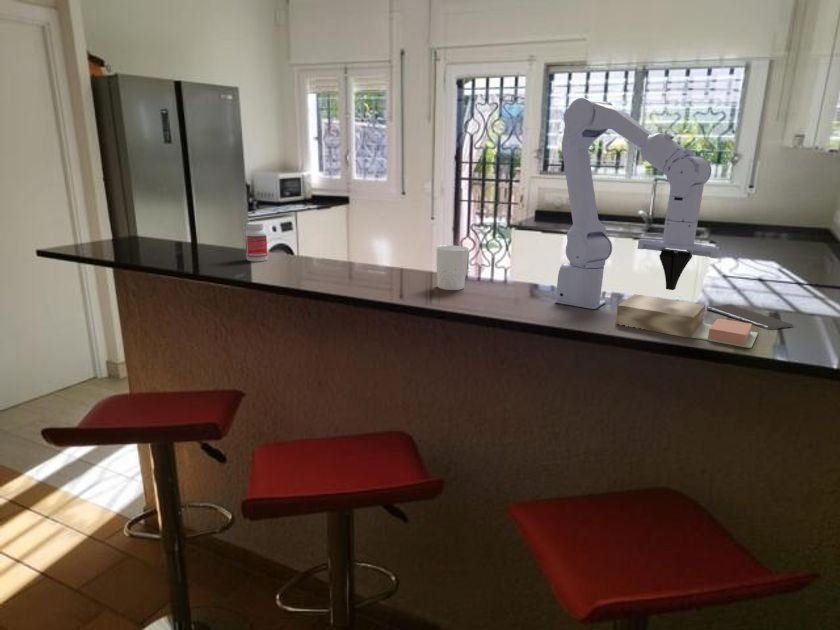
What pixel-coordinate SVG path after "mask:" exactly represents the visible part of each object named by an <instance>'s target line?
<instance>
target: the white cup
mask: <svg viewBox="0 0 840 630" xmlns="http://www.w3.org/2000/svg"><path fill="white" fill-rule="evenodd" d="M435 250H436V251H435V252H436V277H437V280H436V281H437V285H436V287H437V288H438V289H440V290H445V291H460V290H463V289H465V281H466V274H467V266H468V258H469V254H468V253H469V248H468V247H466V246H462V245H439V246H436V249H435Z"/></svg>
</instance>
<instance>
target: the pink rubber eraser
mask: <svg viewBox="0 0 840 630" xmlns="http://www.w3.org/2000/svg"><path fill="white" fill-rule="evenodd" d="M711 325H712V326H711V327H710V329H709V334H708V339H711V340H717V341H722V342H728V343H733V344H739V345H745V343H746V341H747V339H748V337H749V336H750V333H751V331H752V328H753V327H752V326H753V325H752V324H750V323H746V322H743V321H739V320H737V321H736V320H731V319H724V318H716V320H715V321H714V322H713V323H712V324H711Z"/></svg>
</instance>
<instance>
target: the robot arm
mask: <svg viewBox="0 0 840 630" xmlns="http://www.w3.org/2000/svg"><path fill="white" fill-rule="evenodd" d="M563 122H564V130H563V136H562V141H561V153H562V159H563V164H564V165H563V166H564V171H565V178H566V179H565V180H566V186H567V187H566V188H567V193H568V200H569V206H570V212H571V219H572V226H571V227H570V228H569V229H568V231H567V232H566V240H567V241H566V246H565V255H566V256H565V257H566V258H567V260H568V262H564V263H561V266H560V267H559V270H558V273H557V282H556V283H557V285H556V295H555V299H554V303H557V304H562V305H567V306H573V307H578V308H585V309H590V310H596V309H598V308H599V307H600V306H602V305H605V304H606V303H607V300H603V299H601V295H602V287H603V278H604V270H605V266H606V261H607V260H608V259H609V258H610V257H611V255H612V252H613V243H612V240H611V239H610V237H609V236H608V234H607V228H606V226H605V225H604V224H603V223H602V222H601V221H600V219H599V215H598V208H597V207H598V206H597V202H596V193H595V189H594V188H595V187H594V179H593V175H592V173H593V172H592V168H591V167H592V166H591V159H590V154H589V149H590V148H591V146H592V145H593V143H594V142H595V141H596V140H597V139H598V138H600V137H601V136H603V134H605V133H606V132H607V131H608V130H611V131H614V132H615V133H616V134H618V135H620V137H623V138H624V139H626V140H628V141H629V142H630V143H631V144H633V145H635V146H636V147H638V148H639V149H640V152H641V153H640V155H641V158H642V159H643V160H644V161H646V162H647V163H649V164H650V165H651V166H653V168H656V170H658V171H660V172H661V173H662V174H663V175H665V176H666V179H667V181H668V184H669V185H670V188H669V189H670V190H669V196H668V203H667V208H666V214H665V215H666V216H665V221H664V228H663V235H662V239H653V238H652V239H651V238H640V239H638V243H637V250H648V251H657V252H660V253H659V255H658V256H659V260H660V263H661V265H662V268H663V274H664V278H665V289H666V290H669V291H674V290H676V288H677V285H678V283H679V279H680V277H681V275H682V273H683V272H684V270H685V268H686V267H687V265H688V263H690V261H691V259H692V258H693V256H699V257H707V258H710V259H711V258H712V259H717V258H718V257H719V253H720V252H719V251H720V247H719V246H714V245H706V244H701V243H695V240H696V235H697V229H698V222H699V216H700V211H701V205H702V204H701V203H702V199H703V192H704V186H705V184H706V183H707V182H709V180H710V178H711V175H712V167H711V164H710V162H709V161H708V160H707V158H706V157H705V156H702V155H693V154H692V153H693V150H692V149H691V148H689V147H686V148H685V147H683V146H682V145H680V144H679V143H678V142H676V141H675V140H674V138H675V136H674V135H672V134H671V133H668V132H667V133H664V132H658V133H657V132H656V133H655V134H653V133H652V132H650V131H649V130H647V129H646V127H644V126H643V125H641V124H640V122H638V121H636V120H635V119H634V118H632V117H631V116H630V115H629V114H628V113H627V112H625V111H624V110H623V109H621V107H620V106H616V105H614V104H612V103H611V102H610V101H608V100H593V99H588V98H585V97H579V98H578V97H577V98H576V99H575V100H573V101H572V102H571V103H570V104H569V106H568V108H567V109H566V111H565V113H563Z"/></svg>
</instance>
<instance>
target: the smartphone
mask: <svg viewBox="0 0 840 630" xmlns="http://www.w3.org/2000/svg"><path fill="white" fill-rule="evenodd" d="M706 310H708V312H709V311H710V312H712V313H716V314H718V315H722V316H724V317H727V318H730V319H734V320H737V321H739V322H744V323H750V324H752V326H756V327H759V328H762V329H765V328H766V330H769V329H774V330H778V329H777V328H781V329H788V328H787V327H791V328H794V324H792V323H790V322H787V321H784V320H781V319H779V318H778V319H777V318H775V317H772V316H771V317H770V316H768V315H765V314H761V313H759V312H755V311H752V310H748V309H746V308H743V307H740V306H736V305H733V304H720V305H719V304H718V305H710V306H707V307H706ZM782 327H783V328H782Z"/></svg>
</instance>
